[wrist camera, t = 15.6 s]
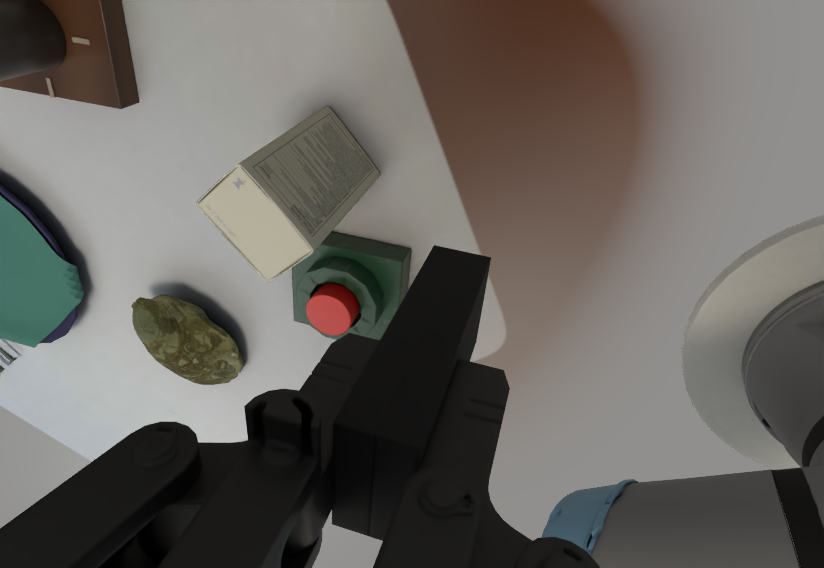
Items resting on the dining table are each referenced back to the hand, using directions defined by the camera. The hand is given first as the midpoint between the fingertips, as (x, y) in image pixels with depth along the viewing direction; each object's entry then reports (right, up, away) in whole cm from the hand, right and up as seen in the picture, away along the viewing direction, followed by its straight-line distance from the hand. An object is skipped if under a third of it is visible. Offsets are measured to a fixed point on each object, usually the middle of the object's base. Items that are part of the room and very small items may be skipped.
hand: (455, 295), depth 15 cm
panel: (-28, +19, +28) cm, 44 cm away
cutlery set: (-46, +1, +45) cm, 64 cm away
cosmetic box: (-7, +10, +26) cm, 29 cm away
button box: (-6, +1, +32) cm, 32 cm away
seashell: (-22, -4, +41) cm, 46 cm away
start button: (-7, -1, +29) cm, 29 cm away
